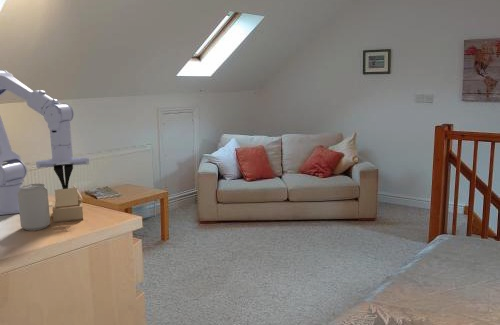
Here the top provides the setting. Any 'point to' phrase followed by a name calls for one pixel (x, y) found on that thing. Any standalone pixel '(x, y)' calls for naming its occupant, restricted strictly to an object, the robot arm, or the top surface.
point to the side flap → (77, 192)
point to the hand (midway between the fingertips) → (65, 189)
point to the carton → (67, 212)
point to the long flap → (66, 197)
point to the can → (33, 207)
